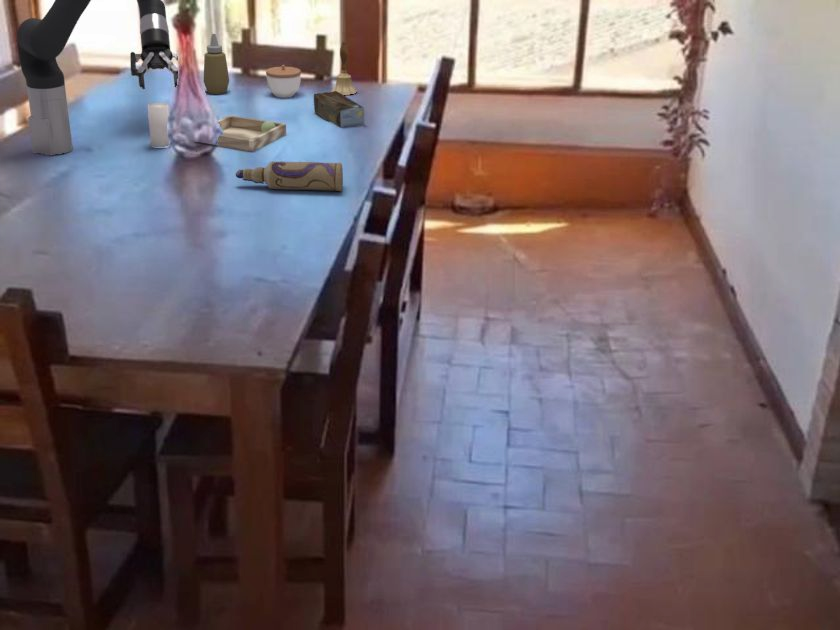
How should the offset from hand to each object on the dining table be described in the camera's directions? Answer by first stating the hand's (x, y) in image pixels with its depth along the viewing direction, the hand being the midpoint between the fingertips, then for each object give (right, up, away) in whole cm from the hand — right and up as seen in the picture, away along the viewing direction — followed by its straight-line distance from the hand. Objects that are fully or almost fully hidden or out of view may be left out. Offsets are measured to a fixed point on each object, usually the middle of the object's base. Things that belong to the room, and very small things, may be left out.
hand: (159, 86), depth 286 cm
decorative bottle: (+40, -31, -29) cm, 57 cm away
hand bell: (+46, +9, +52) cm, 70 cm away
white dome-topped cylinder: (+1, -16, -3) cm, 16 cm away
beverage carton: (+46, -5, +24) cm, 52 cm away
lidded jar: (+27, +7, +47) cm, 55 cm away
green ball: (+29, -12, +6) cm, 32 cm away
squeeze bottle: (+6, +8, +48) cm, 49 cm away
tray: (+21, -14, +4) cm, 26 cm away
